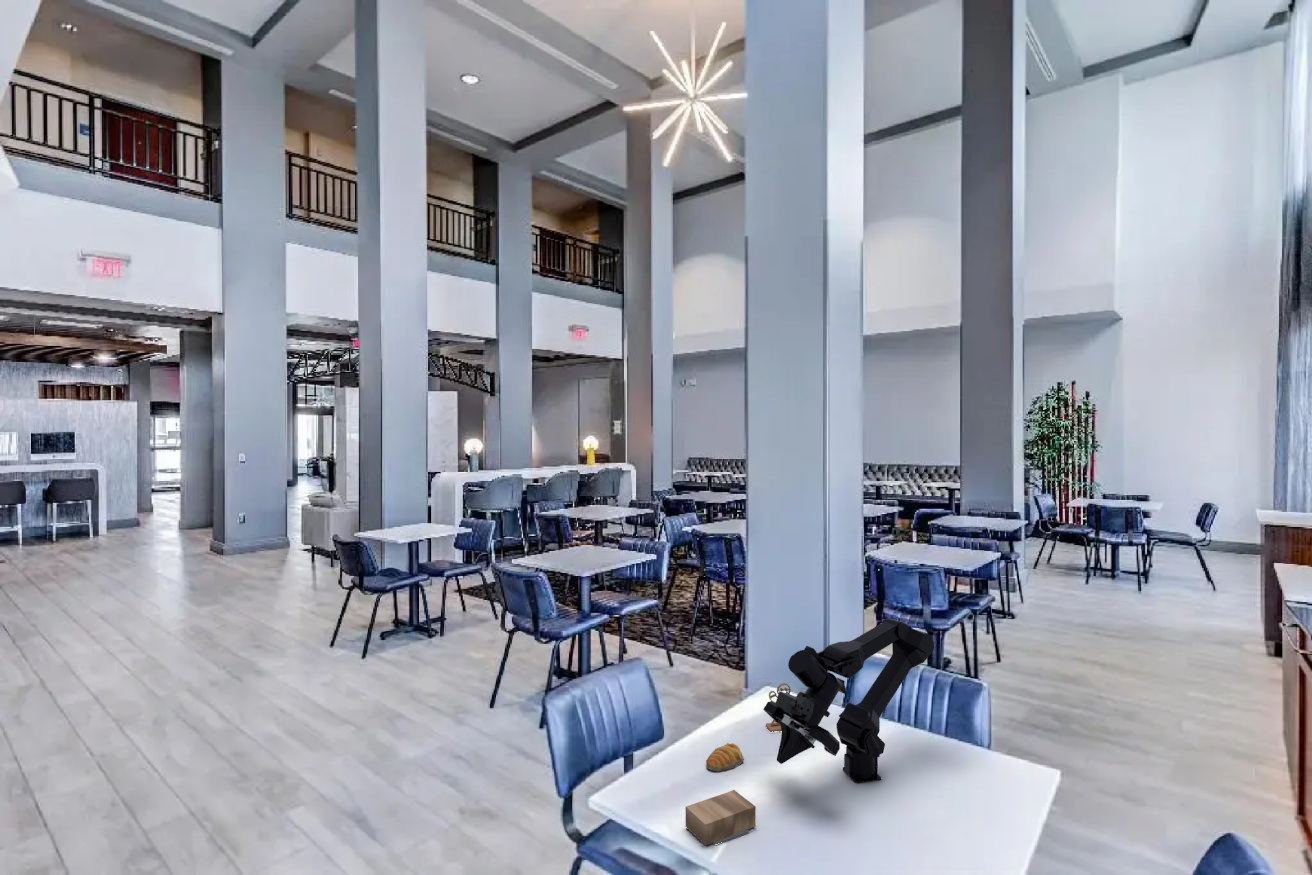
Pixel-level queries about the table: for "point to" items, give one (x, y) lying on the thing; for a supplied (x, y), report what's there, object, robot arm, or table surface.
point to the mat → (732, 837)
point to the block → (720, 817)
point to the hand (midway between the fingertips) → (778, 762)
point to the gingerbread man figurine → (773, 725)
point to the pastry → (725, 758)
